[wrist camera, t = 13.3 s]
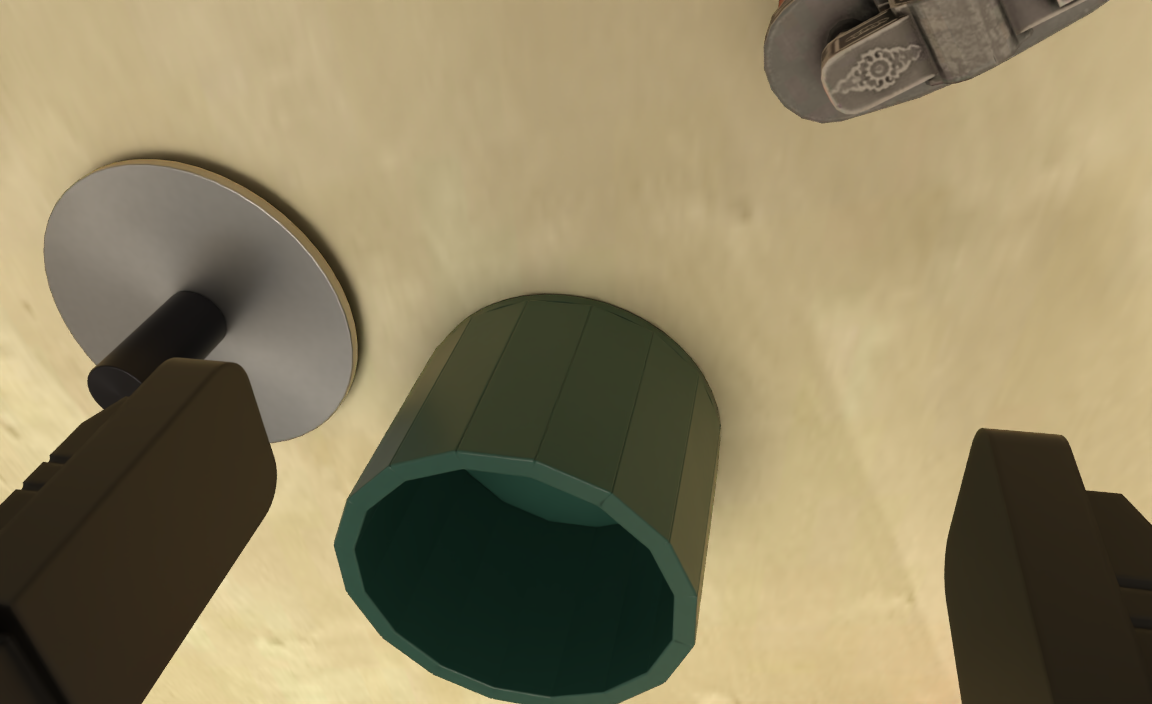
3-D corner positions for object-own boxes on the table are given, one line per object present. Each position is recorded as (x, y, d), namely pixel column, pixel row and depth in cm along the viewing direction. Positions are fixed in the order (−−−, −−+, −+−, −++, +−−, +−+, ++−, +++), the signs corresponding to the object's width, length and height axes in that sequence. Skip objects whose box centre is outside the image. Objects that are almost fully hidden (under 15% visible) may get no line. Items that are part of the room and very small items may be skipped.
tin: (446, 509, 39) (368, 678, 33) (408, 281, 33) (302, 432, 26) (712, 545, 37) (689, 733, 30) (729, 307, 31) (704, 480, 24)
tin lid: (122, 411, 40) (30, 505, 35) (12, 143, 33) (-121, 216, 28) (387, 442, 38) (326, 548, 33) (330, 160, 31) (242, 244, 26)
